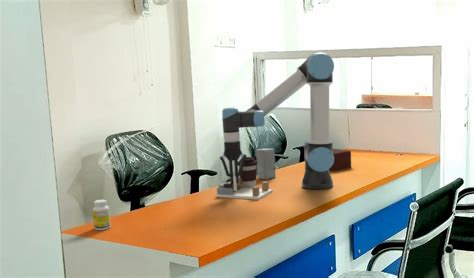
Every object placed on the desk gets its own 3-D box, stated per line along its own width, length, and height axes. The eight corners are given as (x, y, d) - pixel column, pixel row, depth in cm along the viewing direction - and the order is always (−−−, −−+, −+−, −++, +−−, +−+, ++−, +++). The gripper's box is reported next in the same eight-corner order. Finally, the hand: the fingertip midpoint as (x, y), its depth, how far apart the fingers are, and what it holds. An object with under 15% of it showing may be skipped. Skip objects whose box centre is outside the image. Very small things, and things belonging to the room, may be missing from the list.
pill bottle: (95, 226, 221) (93, 199, 219) (111, 225, 221) (109, 198, 220) (93, 231, 214) (90, 203, 213) (109, 230, 215) (107, 202, 214)
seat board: (272, 191, 266) (272, 181, 266) (259, 199, 252) (258, 188, 252) (231, 189, 276) (230, 179, 275) (216, 196, 262) (215, 185, 261)
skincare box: (265, 179, 295) (264, 150, 293) (256, 178, 301) (255, 149, 299) (276, 177, 301) (275, 148, 299) (267, 175, 306) (266, 147, 304)
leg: (237, 187, 274) (236, 177, 273) (242, 187, 273) (242, 177, 272) (224, 193, 262) (223, 182, 261) (229, 193, 261) (229, 183, 260)
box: (353, 167, 319) (352, 150, 318) (332, 171, 310) (332, 153, 308) (327, 163, 336) (327, 147, 335) (307, 167, 327) (306, 150, 325)
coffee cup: (255, 190, 271) (253, 160, 268) (236, 189, 275) (234, 160, 272) (261, 185, 280) (259, 156, 278) (242, 184, 284) (241, 156, 281)
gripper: (243, 138, 264) (246, 187, 267) (217, 140, 262) (220, 189, 265) (246, 140, 256) (249, 190, 260) (219, 143, 254) (222, 193, 258)
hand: (234, 190), depth 262 cm, fingers closed
